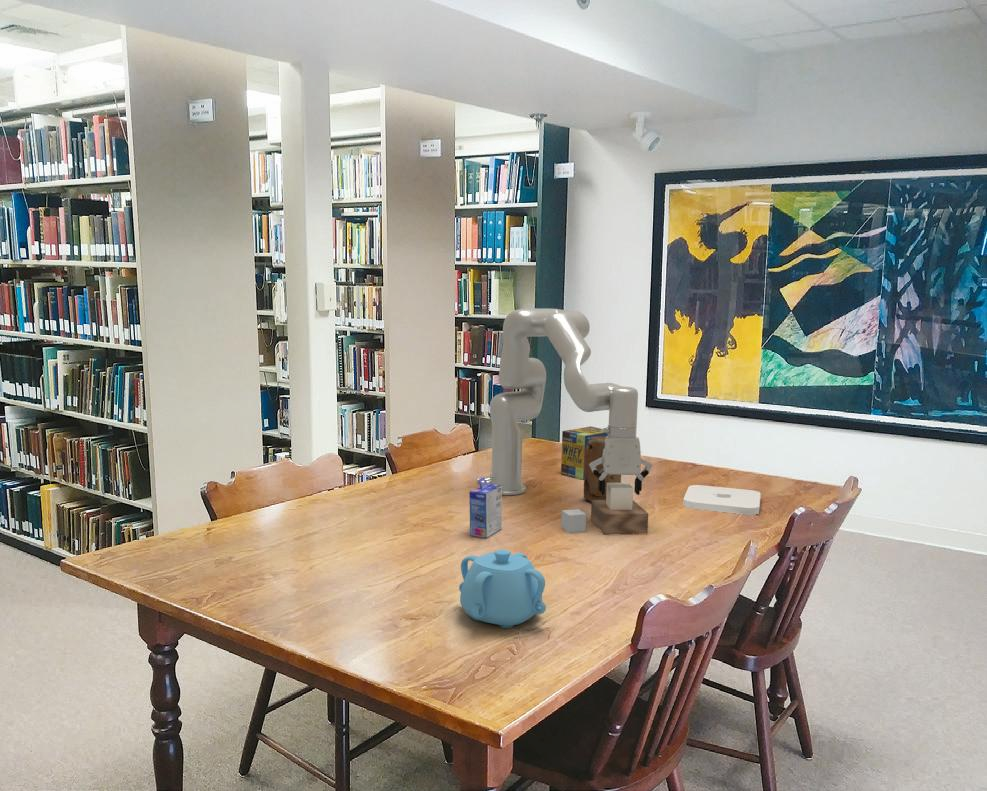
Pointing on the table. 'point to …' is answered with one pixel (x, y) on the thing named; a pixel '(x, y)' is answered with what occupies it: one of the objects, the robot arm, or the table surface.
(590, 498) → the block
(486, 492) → the ink cartridge box
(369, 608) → the table surface
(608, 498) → the cream block
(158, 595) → the table surface
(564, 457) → the protein box
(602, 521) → the walnut block
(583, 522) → the grey block
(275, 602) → the table surface
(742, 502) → the computer
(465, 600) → the decorative pot
